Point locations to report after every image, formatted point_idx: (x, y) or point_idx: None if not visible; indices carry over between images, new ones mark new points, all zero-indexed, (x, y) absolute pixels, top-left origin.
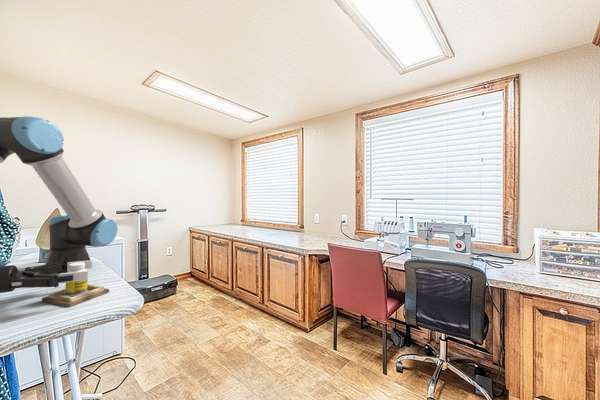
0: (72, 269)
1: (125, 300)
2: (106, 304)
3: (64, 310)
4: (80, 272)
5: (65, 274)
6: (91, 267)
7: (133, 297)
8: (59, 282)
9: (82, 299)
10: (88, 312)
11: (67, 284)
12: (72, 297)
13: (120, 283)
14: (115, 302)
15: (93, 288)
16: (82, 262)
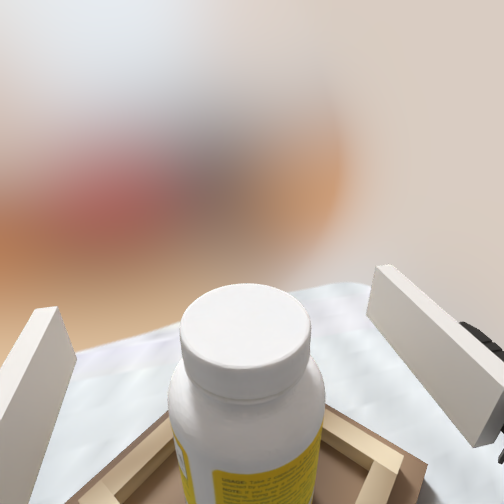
0: (306, 361)
1: (344, 302)
2: (380, 340)
3: (470, 489)
4: (414, 288)
5: (482, 352)
6: (75, 355)
7: (319, 289)
8: (496, 435)
9: (357, 423)
10: None
11: (309, 484)
12: (384, 456)
13: (121, 346)
14: (361, 321)
15: None
16: (205, 298)
